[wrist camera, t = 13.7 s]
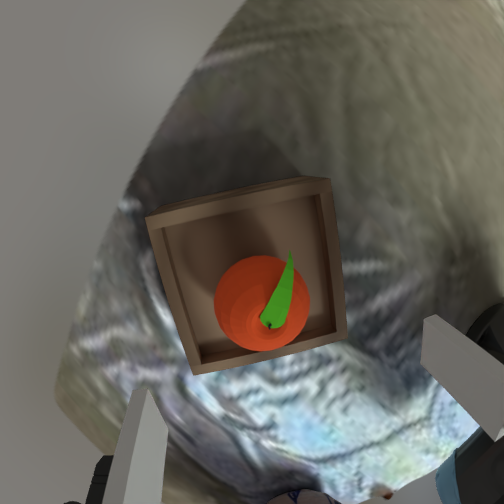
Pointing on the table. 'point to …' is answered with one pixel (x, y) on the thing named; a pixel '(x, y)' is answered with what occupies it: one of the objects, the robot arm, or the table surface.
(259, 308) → the clementine
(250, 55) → the table surface
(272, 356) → the walnut tray
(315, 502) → the ceramic pitcher
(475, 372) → the robot arm
